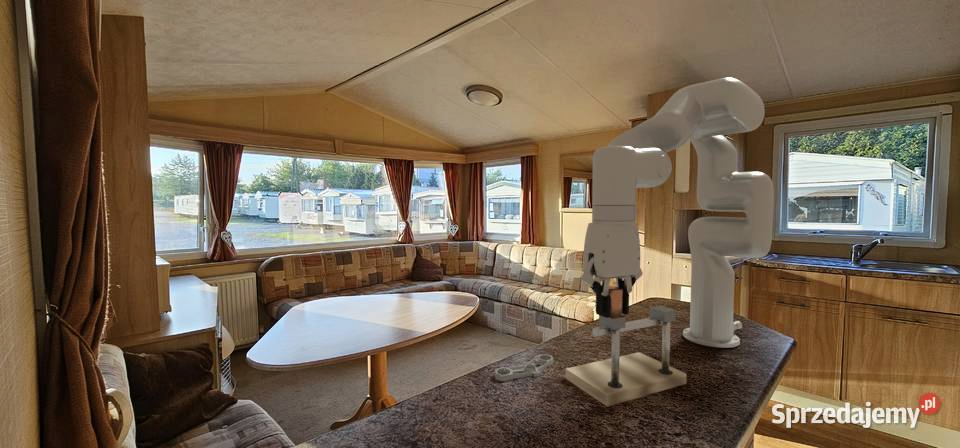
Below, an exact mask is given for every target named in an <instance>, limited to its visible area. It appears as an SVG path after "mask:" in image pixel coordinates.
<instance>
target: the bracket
mask: <svg viewBox="0 0 960 448" xmlns="http://www.w3.org/2000/svg"><path fill="white" fill-rule="evenodd" d="M553 364H554V357H553V356H552V355H550V354H547V353H546V354H545V353H544V354H538V355H535V356H534V357H533V359H531V360H529V362H527V363H526V364H522V365H517V366H516V365H514V366H508V367H506V368H505V366H501V367H498V368H497V369H495V370H494V379H496V381H499V382H508V381H511V380H514V379H515V380H516V379H521V378H522V379H523V378H527V377H534V378H537V377H540V376H541V375H542V371H544V370H545V369H546V368H548V367H550V366H552V365H553ZM537 366H538V367H537Z"/></svg>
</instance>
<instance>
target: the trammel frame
mask: <svg viewBox="0 0 960 448" xmlns="http://www.w3.org/2000/svg"><path fill="white" fill-rule="evenodd" d="M676 313H677V311H676V309H674V308H670V307H666V306H664V305H656V306H650V307H649V317H646V318H641V319H635V320H630V321H626V322H625V328H620V333H622V332H627V331H632V330H637V329H638V330H639V329H643V328H649V327H652V326H653V327H654V326H660V325H662V326H661V327H662V328H661V329H662V330H661V332H662V335H661V337H662V338H661V363H662V368H661V371H662V372H664V373H669V366H670V362H671V361H670V360H671V358H670V353H671V322H672V321H676ZM592 335H593V336H595V337H601V336H607V335H612V329H610V328H607V327H605V326H603V325H601V326H597V327H592Z"/></svg>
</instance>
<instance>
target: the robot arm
mask: <svg viewBox="0 0 960 448" xmlns="http://www.w3.org/2000/svg"><path fill="white" fill-rule="evenodd" d="M765 113H766V111H765V105H764V102H763V99H762V98H761V96H760V95H759V94H758V93H757V92H756V91H754V90H753V89H752V88H751V87H749V86H748V85H747V84H746V83H744V82H743V81H741V80H738V79H737V78H733V77H721V78H717V79H714V80H713V79H712V80H709V81H704V82H698V83H694V84H690V85H686V86H685V87H682V88H680V89H678V90H677V91H676V92H674V93H673V94H672V95H671V97H670V98H669V99H668V100H667V101H666V102H665V103H664V105H663V106H662V107H661V108H660V109H659V110H658V111H657V112H656V113H655V115H654V116H652V117H651V118H648V119H646V120H645V121H643V122H641V123H639V124H638V125H635V126H634V127H632V128H631V129H628V130H627V131H624V132H622V133H621V134H619V135H618V136H617V137H615V138H614V139H612V141H610V142H609V143H608V144H607V145H606V146H602V147H599V148H596V149H595V151H594V152H593V155H592V188H591V189H592V199H591V201H592V203H591V205H592V206H591V207H592V209H591V214H592V215H591V219H592V220H591V222H588V224H587V228H586V233H585V237H584V238H585V239H584V244H583V245H584V246H583V256H582V270H583V271H582V272H583V273H582V275H581V276H580V280H581V282H583V283H585V284H586V285H588V286H589V288H591V290H592V293H594V294H595V314H596V315H598V316H599V315H600V316H603V317H606V318H609V317H610V316H611V297H610V296H609V295H608V291H609V286H610V283H611V279H615V287H620V288H622V289H623V315H624V316H626V315H629V313H630V294H631V293H632V291H633V286H634V285H635V283H636V282H637V281H638V280H639V278H641V277H642V276H643V270H642V269H641V241H640V232H639V227H638V222H637V219H636V218H637V217H636V216H637V215H638V209H637V205H636V204H637V189H644V188H645V189H647V188H655V187H658V186H661V185H663V184H664V183H666V182H667V181H668V179H669V178H670V175H671V173H672V168H673V167H672V166H673V165H672V161H671V158H670V156H669V155H668V152H672V151H674V150H676V149H679V148H680V147H682V146H683V145H685V144H686V143H687V141H688V140H689V141H690V143H691V144H692V146H693V148H694V150H695V151H696V156H697V177H696V202H697V204H698V207H700V208H701V209H702V210H705V211H710V212H728V213H729V212H734V213H736V212H741V213H745V216H746V217H731V216H703V217H698V218H696V219H694V220H693V221H692V222H691V223H690V224H689V226H688V229H687V237H688V244H689V250H690V258H691V259H690V260H691V262H690V263H691V264H690V265H691V275H690V278H691V279H690V304H689V305H690V306H689V307H690V311H689V313H690V314H689V327H686V328H684V329H683V331H682V336H683V338H685V339H686V340H687V341H690V342H691V343H694V344H698V345H701V346H705V347H711V348H717V349H719V348H720V349H729V348H736V347H738V346H739V345H740V344H741V338H740V337H739V336H737V335H736V334H735V331H736V330H739V329H742V328H743V323H742V322H741V321H739V320H736V321H734V308H735V307H734V306H735V302H734V300H735V282H736V281H735V280H736V276H735V275H736V274H735V271H734V268H733V267H732V265H731V263H730V261H729V260H728V259H727V257H737V258H738V257H739V258H748V259H749V258H750V259H759V258H764V257H765V256H767V255H768V253H770V250H771V246H772V240H773V229H774V227H773V224H774V223H773V222H774V205H775V204H774V203H775V189H774V185H773V181H772V179H771V177H770V176H769V175H768V174H766V173H764V172H761V171H741V172H740V171H738V151H737V149H736V147H735V146H734V145H733V144H732V142H731V141H730V140H729V139H728V138H726V135H733V134H734V135H735V134H742V133H743V134H744V133H748V132H752V131H755V130H756V129H758V128H759V127H760V126H761V124H762V123H763V122H764V118H765Z"/></svg>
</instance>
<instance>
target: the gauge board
mask: <svg viewBox="0 0 960 448" xmlns="http://www.w3.org/2000/svg"><path fill="white" fill-rule="evenodd" d="M661 368H662V361H660V360H657V359H655V358H652V357H651V356H648V355H646V354H644V353H642V352H639V351H638V352H634V353H629V354H625V355H621V356H620V358H619V384H618V385H614V384H612V383H611V358H607V359H602V360H598V361H593V362H589V363H588V362H587V363H584V364H580V365H576V366H572V367H567V368H565V377H564V378H565V379H566V380H567V381H568V382H571V384H573V385H575V387H578V388H579V389H581V390H582V391H583V392H585V393H587V394H588V395H589V396H591V397H592V398H593V399H595V400H597V401H598V402H600V403H601V404H602V405H604V406H605V407H611V406H614V405H618V404H621V403H624V402H627V401H631V400H635V399H638V398H642V397H645V396H649V395H652V394H655V393H659V392H662V391H665V390H670V389H673V388H677V387H680V386H684V385H687V373H686V372H684V371H681V370H680V369H677V368H674V367H673V366H670V365H669V373H664V372H662V371H661Z"/></svg>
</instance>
